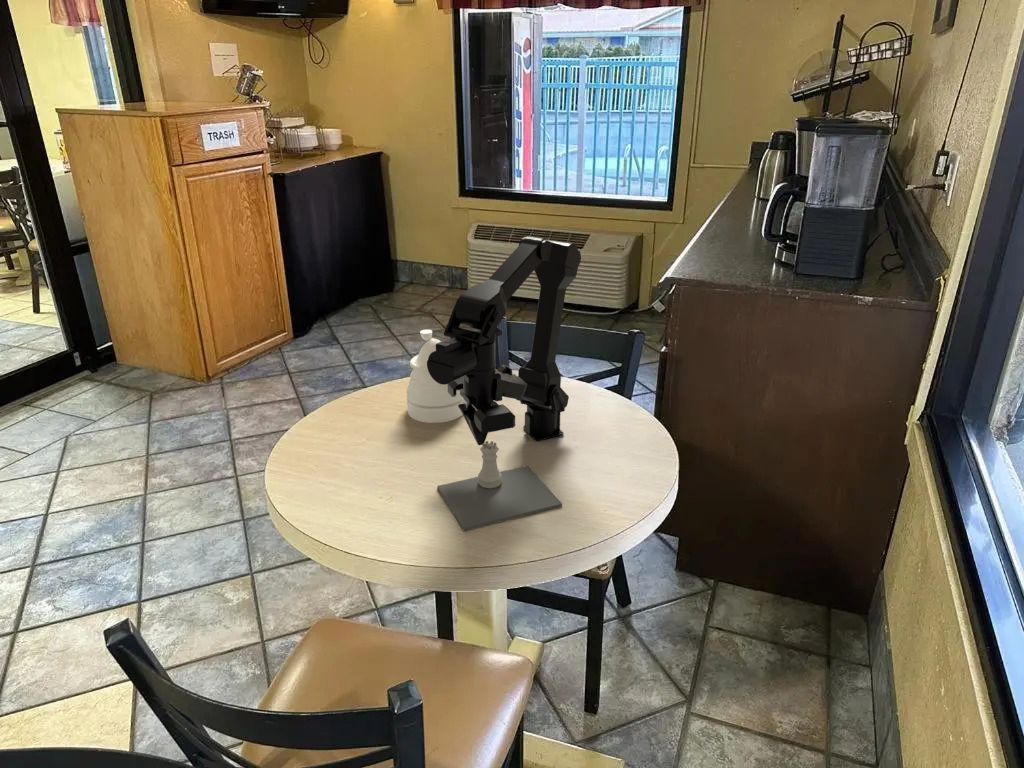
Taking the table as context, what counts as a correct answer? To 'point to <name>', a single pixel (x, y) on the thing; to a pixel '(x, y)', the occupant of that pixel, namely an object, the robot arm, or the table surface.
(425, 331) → the honey pot
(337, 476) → the table surface
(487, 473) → the rook chess piece
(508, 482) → the rubber mat
